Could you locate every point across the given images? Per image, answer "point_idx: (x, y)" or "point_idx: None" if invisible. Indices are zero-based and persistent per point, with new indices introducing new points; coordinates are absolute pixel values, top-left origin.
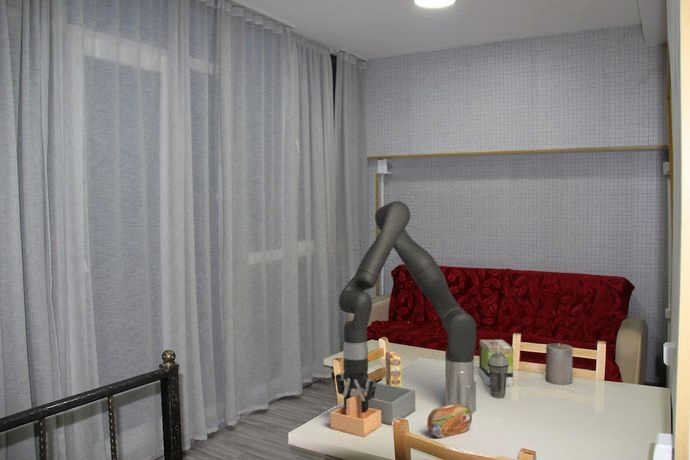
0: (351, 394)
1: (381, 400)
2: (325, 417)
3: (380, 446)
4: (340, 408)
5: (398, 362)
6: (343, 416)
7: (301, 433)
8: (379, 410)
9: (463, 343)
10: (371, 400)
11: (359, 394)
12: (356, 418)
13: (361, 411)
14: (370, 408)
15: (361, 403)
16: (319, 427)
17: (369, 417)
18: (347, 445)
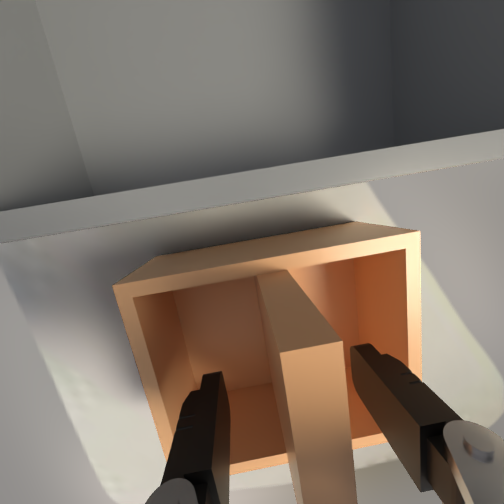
0: (20, 223)
1: (424, 148)
2: (54, 325)
3: (464, 380)
4: (160, 402)
5: None
6: (273, 460)
7: (143, 498)
8: (411, 241)
9: None
10: (307, 191)
11: (329, 450)
12: (367, 444)
13: (360, 395)
14: (331, 255)
15: (403, 461)
16: (144, 420)
17: (419, 378)
18: (359, 451)
